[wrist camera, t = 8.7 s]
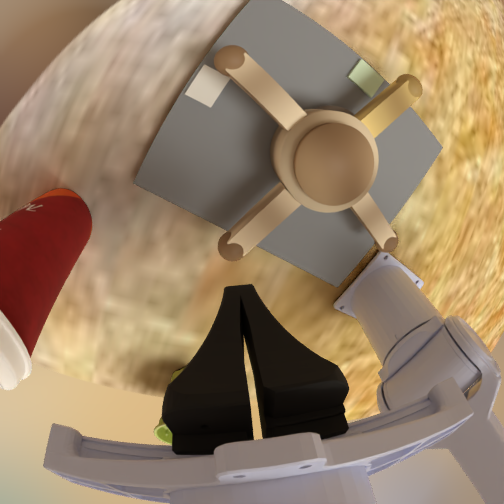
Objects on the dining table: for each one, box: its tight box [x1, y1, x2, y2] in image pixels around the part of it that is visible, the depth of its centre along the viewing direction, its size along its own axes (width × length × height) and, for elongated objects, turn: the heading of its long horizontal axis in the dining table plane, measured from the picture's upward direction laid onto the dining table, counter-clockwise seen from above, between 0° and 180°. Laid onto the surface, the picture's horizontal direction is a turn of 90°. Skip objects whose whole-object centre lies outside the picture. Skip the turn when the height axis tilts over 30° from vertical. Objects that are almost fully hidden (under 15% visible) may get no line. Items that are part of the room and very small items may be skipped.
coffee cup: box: [0, 188, 92, 390], centre depth 13 cm, size 8×8×15 cm
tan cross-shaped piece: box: [214, 45, 422, 261], centre depth 17 cm, size 19×19×4 cm
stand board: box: [133, 0, 443, 288], centre depth 19 cm, size 20×17×2 cm
